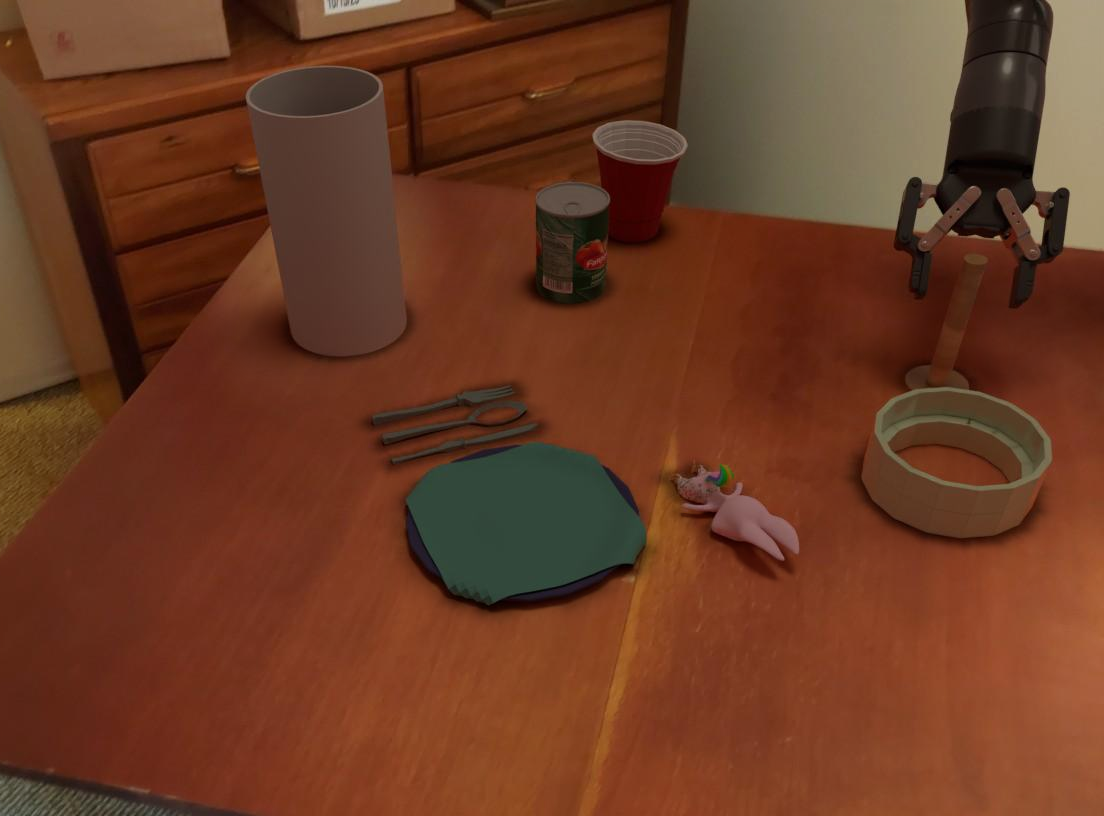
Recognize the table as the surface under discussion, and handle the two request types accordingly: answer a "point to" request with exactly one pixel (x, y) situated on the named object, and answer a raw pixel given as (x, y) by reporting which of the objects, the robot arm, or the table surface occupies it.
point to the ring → (967, 426)
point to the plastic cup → (637, 174)
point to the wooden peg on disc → (951, 331)
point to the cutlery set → (515, 512)
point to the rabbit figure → (735, 511)
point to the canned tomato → (571, 242)
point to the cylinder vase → (331, 206)
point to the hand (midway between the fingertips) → (967, 301)
